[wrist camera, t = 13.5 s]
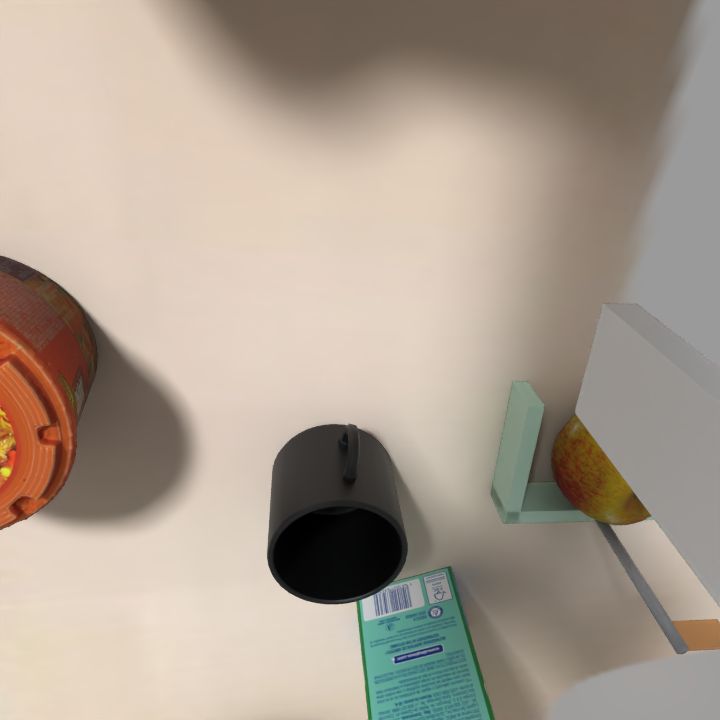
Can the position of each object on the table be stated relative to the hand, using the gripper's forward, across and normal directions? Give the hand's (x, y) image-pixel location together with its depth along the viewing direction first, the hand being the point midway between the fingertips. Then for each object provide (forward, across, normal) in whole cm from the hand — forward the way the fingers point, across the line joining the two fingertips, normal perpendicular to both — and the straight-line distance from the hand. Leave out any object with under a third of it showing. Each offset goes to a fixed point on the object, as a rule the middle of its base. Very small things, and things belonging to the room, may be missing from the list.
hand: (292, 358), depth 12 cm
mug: (+27, +3, -23) cm, 36 cm away
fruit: (+27, +24, -21) cm, 42 cm away
